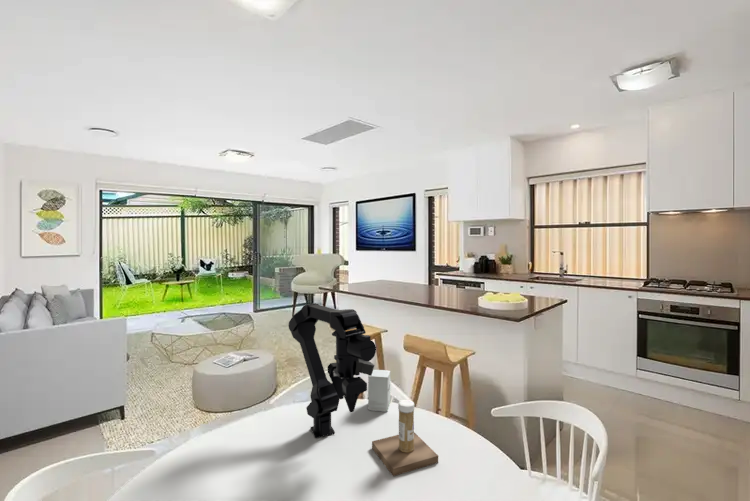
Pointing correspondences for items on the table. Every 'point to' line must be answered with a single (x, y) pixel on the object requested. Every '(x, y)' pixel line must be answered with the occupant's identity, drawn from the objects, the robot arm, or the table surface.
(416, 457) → the brown wooden square board
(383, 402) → the supplement box
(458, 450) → the table surface
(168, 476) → the table surface
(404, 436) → the sprinkles bottle
